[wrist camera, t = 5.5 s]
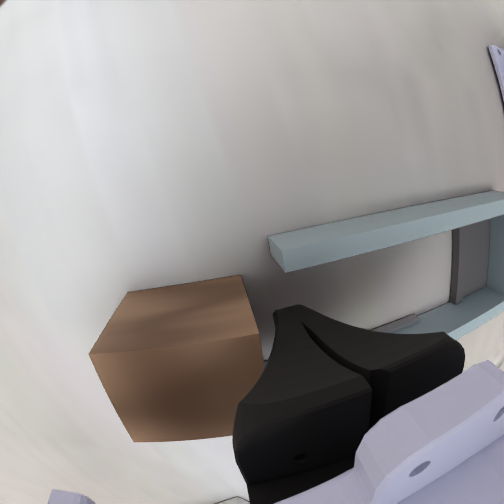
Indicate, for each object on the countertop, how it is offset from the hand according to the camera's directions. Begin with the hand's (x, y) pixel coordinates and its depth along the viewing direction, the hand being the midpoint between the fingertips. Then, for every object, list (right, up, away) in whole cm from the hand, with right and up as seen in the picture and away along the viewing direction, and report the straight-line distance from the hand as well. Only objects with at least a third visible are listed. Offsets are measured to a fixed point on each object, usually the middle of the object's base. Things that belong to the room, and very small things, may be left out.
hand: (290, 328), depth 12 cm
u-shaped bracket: (+7, +2, +2) cm, 8 cm away
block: (-4, 0, +1) cm, 4 cm away
